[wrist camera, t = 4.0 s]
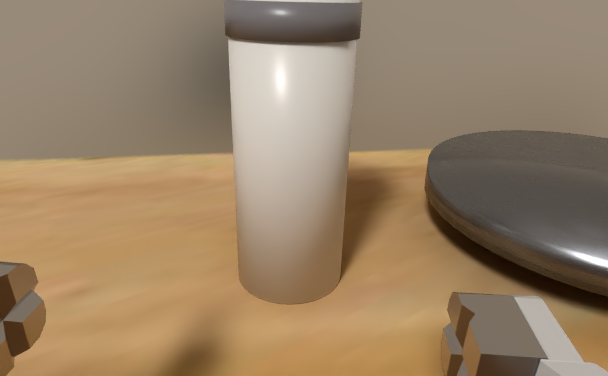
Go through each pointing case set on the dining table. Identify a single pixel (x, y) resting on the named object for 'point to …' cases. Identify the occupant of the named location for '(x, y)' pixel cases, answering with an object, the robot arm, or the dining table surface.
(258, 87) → the white lidded container
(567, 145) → the base
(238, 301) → the dining table surface
